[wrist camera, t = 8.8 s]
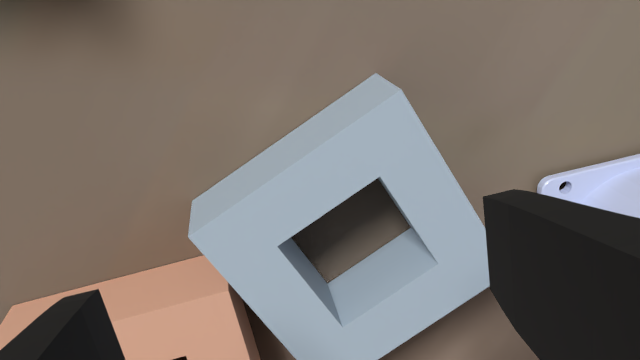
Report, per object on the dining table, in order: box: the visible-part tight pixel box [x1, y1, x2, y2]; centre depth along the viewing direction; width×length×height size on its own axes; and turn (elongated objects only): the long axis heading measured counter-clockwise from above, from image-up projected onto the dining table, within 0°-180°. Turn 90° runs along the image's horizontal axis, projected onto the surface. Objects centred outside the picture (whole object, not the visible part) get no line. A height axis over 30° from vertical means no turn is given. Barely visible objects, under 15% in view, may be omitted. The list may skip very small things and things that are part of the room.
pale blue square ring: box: [188, 73, 490, 360], centre depth 20 cm, size 8×8×3 cm
